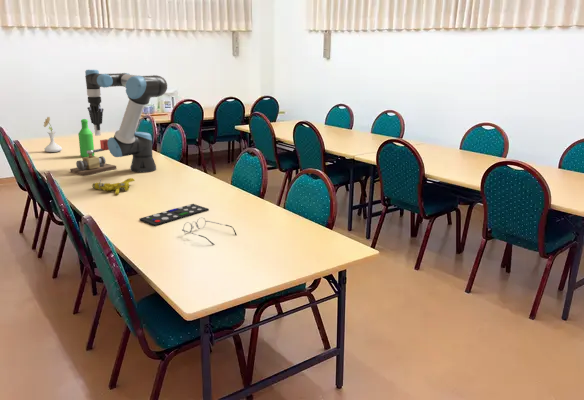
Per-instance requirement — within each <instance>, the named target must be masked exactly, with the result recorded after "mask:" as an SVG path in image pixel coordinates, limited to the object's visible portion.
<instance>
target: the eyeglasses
mask: <svg viewBox="0 0 584 400" xmlns="http://www.w3.org/2000/svg"><path fill="white" fill-rule="evenodd" d="M199 219H203V220H204V225H203V229H204V228H205V226H206V225H207V224H206V223H212V224H217V225H221V226H222V225H223V226H226V227H229V228H231V229H232V230H233V232H234V235H235V236H237V232H236V230H235V229H234V227H233V226H232V225H228V224H223V223H219V222H215V221H211V220H206V218H203V217H199V218H198V219H197V220H196V221H195V222H194V223H195V226H196V228H197V229H198V230H200V229H202V228H201V227H200V226H199V224H198V221H199ZM187 223H189V225H190V230H189V231H188V230H185V226H186V225H187ZM195 226H194V225H193V223H192V222H189V221H186V222H185V223H184V224H183V228H182V229H181V231H182V232H183V233H184V234H188V233H189V234H193V235H196V236H199V237H202V238H204V239H206V240H207V241H208V242H209V243H210V244H211V245H212V246H216V245H215V243H213V242H212V241H211V240H210V239H209V238H207V237H206V236H204V235H200V234H196V233H193V232H192V230H193V229H194V227H195Z"/></svg>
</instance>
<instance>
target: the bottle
mask: <svg viewBox="0 0 584 400" xmlns="http://www.w3.org/2000/svg"><path fill="white" fill-rule="evenodd" d="M88 122H89V120H88V119H85V118H82V119H81V120H80V124H81V129H80V130H79V132H78V144H79V153H80V157H82V158H84V157H89V154H87V150H95V148H94V147H95V145H94V137H93V136H94V133H93V132H92V131H91V129H90V128H89V126H88ZM92 156H95V153H93V154H92Z"/></svg>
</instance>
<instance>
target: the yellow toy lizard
mask: <svg viewBox="0 0 584 400" xmlns="http://www.w3.org/2000/svg"><path fill="white" fill-rule="evenodd" d="M101 180H102V179H101V178H99V182H94V183H93V182H92V185H91V186H92V189H95V190H102V191H105V192H108V191H109V192H111V191H114V193H115V195H116V196H118V195H119V193H120V190H122V191H123V190H124V191H125V192H128V191H129V189H130V183H132V182H135V178H132V177H130V178H127V179H125V180H124V181H122V182H116V183H109V182H108V183H107V182H102V181H101Z"/></svg>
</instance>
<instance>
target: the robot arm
mask: <svg viewBox="0 0 584 400" xmlns="http://www.w3.org/2000/svg"><path fill="white" fill-rule="evenodd" d="M84 72H85V86H86V95H87V103H88V104H89V106H88V107H87V111H88V114H89V118H90V123H91V124H93V127H94V136H96V137H98V136H101V125H102V124H103V113H104V108H102V107H101V103H102V97H101V95H102V94H101V88H104V89H105V88H111V87H123V88H124V87H125V93H126V96H127V99H129V100H128V102H127V106H126V108H125V111H124V114H123V117H122V121H121V123H120V126H119V129H118V130H116V131H115V133H114V135H113V137H112V136H111V137H109V138H107V139H108V148H109V150H108V151H109V153H110V154H111V156H113V157H114V158H122V157H129V156H132V159H131V164H130V171H131V172H133V173H150V172H153V171H156V170H157V165H156V162H155V160H154V156H153V139H152V135H151V133H149V132H146V131H145V132H144V131H137V128H138V125H139V124H140V120H141V117H142V114H143V111H144V109H145V106H147V105H148V104H149V103H150V100H151V98H159V97H162V96H163V95H164V94H166V92H167V91H168V83H167V80H166V78H164V77H162V76H160V75H157V74H156V75H155V74H153V75H137V74H130V73H127V72H122V73H121V72H120V73H118V72H117V73H100V72H99V70H98V69H86V70H85V71H84Z"/></svg>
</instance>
